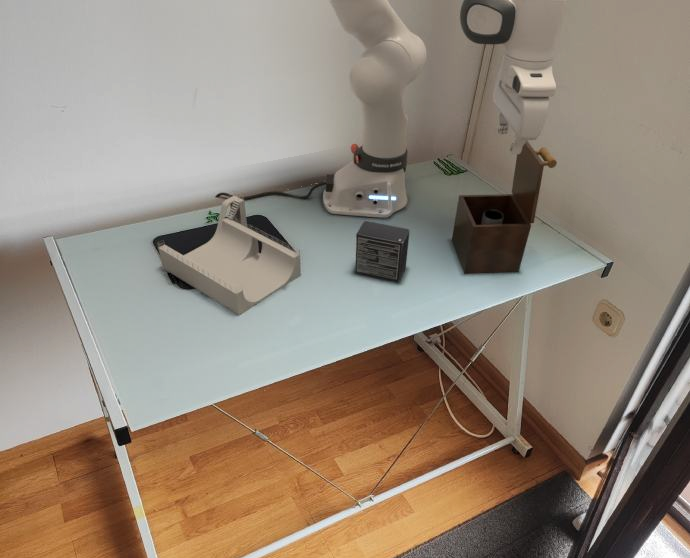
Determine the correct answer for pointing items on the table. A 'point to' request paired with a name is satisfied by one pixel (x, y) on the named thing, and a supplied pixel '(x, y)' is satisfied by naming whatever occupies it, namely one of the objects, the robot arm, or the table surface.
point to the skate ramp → (234, 262)
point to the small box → (381, 251)
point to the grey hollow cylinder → (492, 217)
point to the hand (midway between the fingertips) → (508, 142)
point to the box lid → (530, 178)
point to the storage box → (489, 234)
